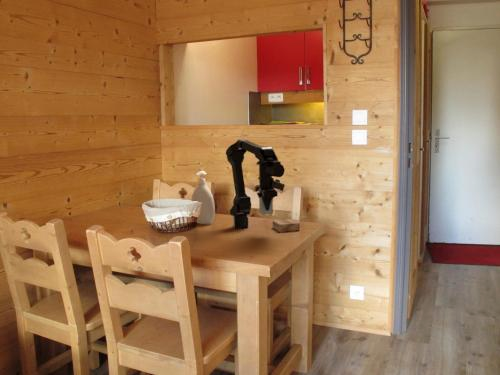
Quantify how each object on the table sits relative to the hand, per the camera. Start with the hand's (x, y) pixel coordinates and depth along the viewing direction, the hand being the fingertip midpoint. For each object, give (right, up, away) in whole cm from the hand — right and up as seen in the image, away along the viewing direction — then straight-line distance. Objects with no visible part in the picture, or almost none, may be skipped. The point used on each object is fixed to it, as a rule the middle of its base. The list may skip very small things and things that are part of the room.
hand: (266, 209), depth 225 cm
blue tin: (0, -2, 0) cm, 2 cm away
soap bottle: (-32, -9, +30) cm, 44 cm away
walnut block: (+10, -10, +13) cm, 20 cm away
